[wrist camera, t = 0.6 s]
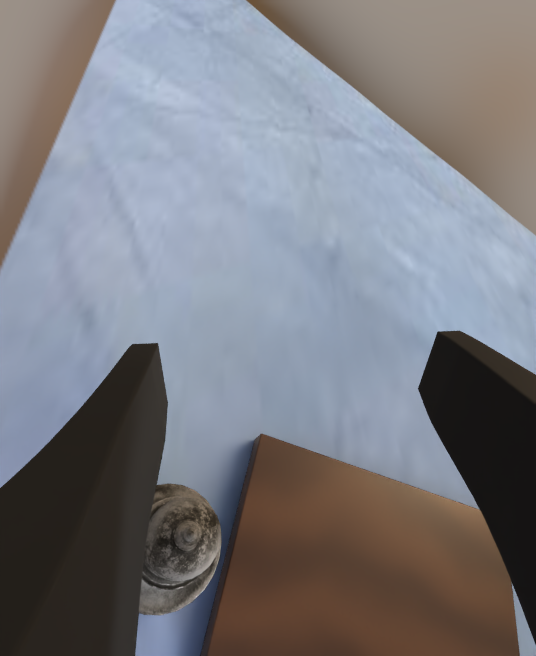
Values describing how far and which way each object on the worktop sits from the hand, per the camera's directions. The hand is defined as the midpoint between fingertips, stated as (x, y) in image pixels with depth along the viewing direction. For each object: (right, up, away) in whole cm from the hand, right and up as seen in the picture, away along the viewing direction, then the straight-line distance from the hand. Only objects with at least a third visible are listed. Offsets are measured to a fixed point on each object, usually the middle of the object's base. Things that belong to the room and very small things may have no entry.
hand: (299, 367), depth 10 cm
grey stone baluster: (-7, -12, +13) cm, 19 cm away
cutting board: (+6, -16, +15) cm, 23 cm away
